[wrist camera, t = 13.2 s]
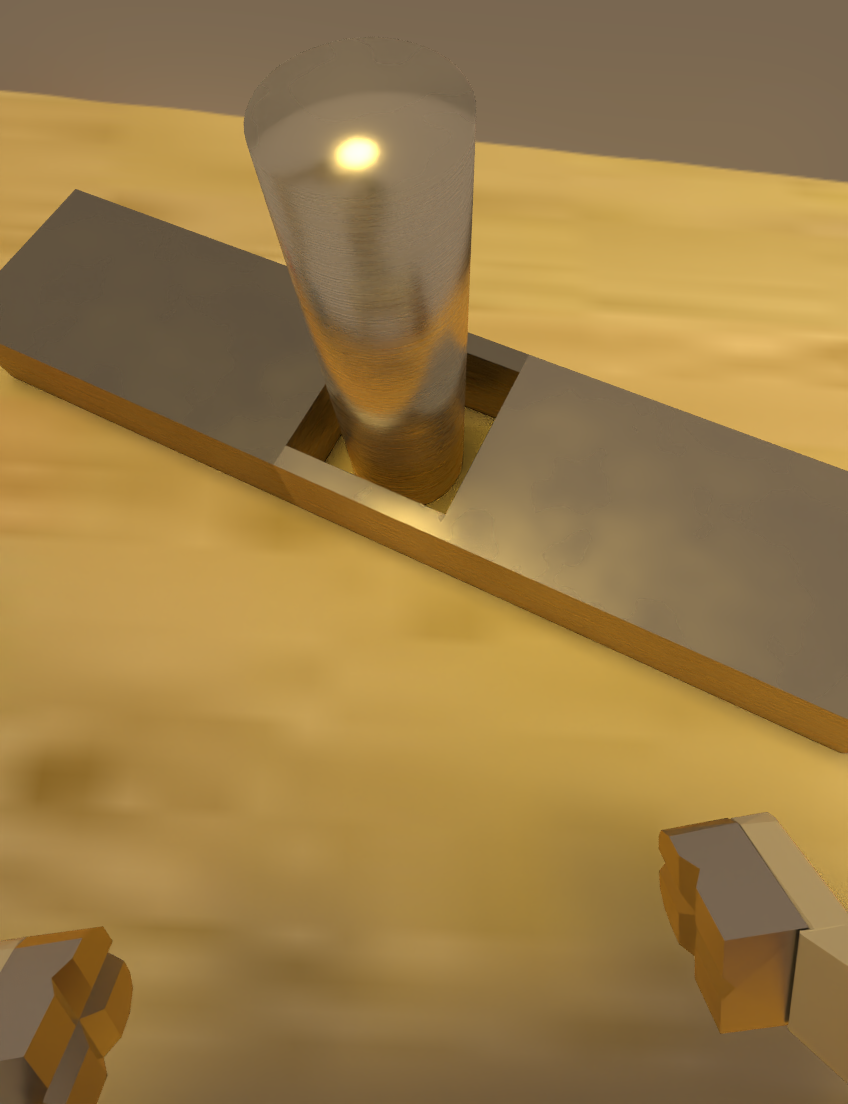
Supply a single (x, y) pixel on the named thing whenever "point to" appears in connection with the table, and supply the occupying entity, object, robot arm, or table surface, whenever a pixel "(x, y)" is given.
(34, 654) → the table surface
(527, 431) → the grey slab
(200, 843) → the table surface
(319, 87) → the pin
